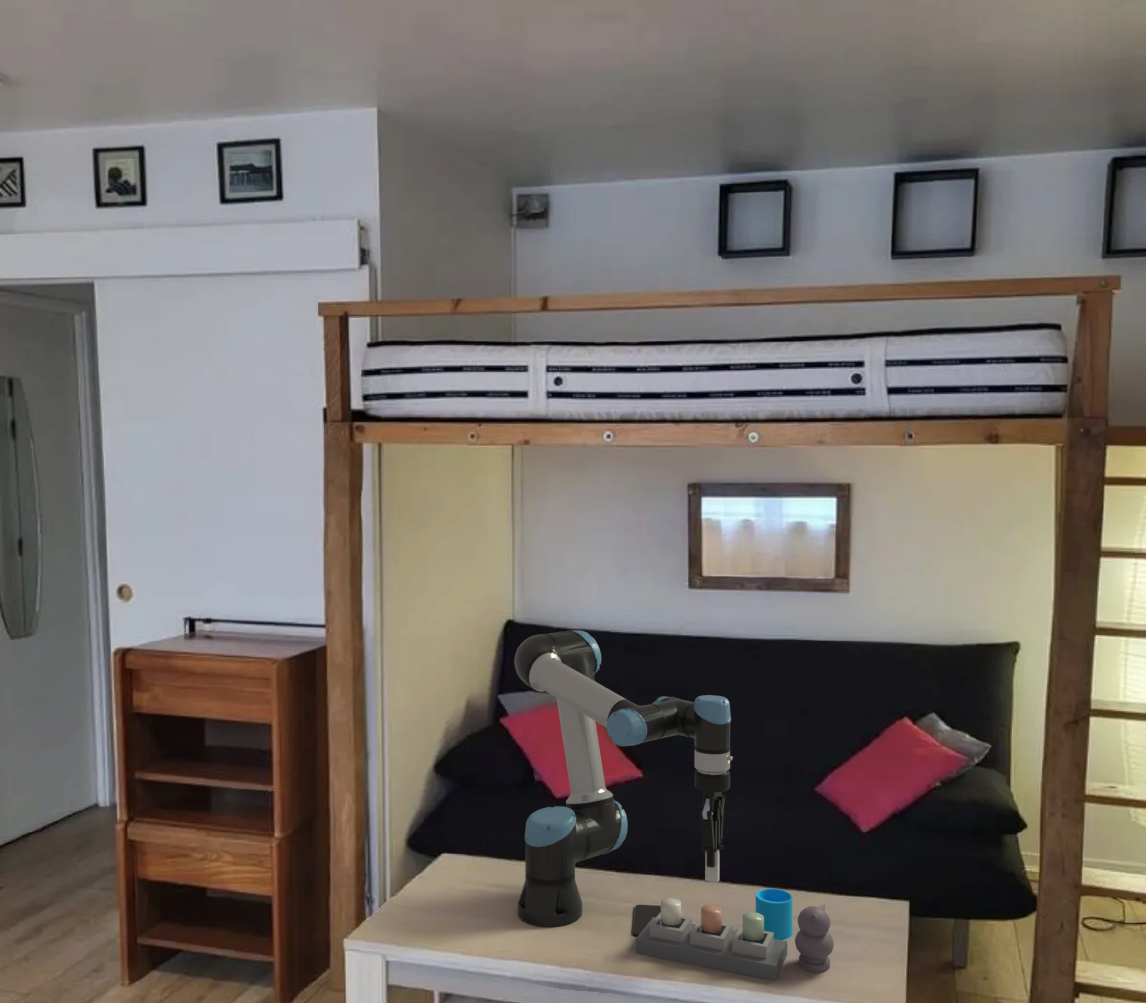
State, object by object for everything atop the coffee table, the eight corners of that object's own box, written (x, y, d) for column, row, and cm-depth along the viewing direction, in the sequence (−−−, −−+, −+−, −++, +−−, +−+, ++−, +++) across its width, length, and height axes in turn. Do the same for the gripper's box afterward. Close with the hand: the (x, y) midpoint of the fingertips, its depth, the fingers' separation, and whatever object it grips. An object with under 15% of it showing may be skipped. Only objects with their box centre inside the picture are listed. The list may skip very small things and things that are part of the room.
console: (635, 953, 214) (635, 928, 214) (653, 930, 225) (653, 906, 225) (775, 980, 203) (775, 954, 202) (787, 955, 214) (787, 930, 213)
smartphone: (667, 940, 221) (668, 909, 237) (667, 936, 221) (668, 905, 237) (631, 938, 222) (634, 907, 238) (631, 934, 222) (635, 903, 238)
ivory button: (658, 923, 216) (658, 904, 216) (664, 915, 220) (664, 897, 220) (677, 926, 214) (677, 908, 214) (683, 918, 218) (683, 900, 218)
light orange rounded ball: (698, 930, 213) (698, 911, 213) (704, 922, 217) (704, 903, 217) (718, 934, 211) (718, 915, 211) (724, 925, 215) (724, 907, 215)
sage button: (740, 938, 209) (740, 919, 209) (745, 929, 213) (745, 910, 213) (761, 942, 207) (761, 922, 207) (765, 933, 211) (765, 914, 211)
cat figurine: (801, 952, 215) (802, 896, 215) (838, 961, 211) (838, 904, 211) (789, 968, 208) (789, 911, 207) (826, 978, 204) (827, 919, 203)
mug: (789, 942, 219) (789, 905, 219) (752, 936, 222) (752, 900, 222) (797, 920, 231) (797, 885, 231) (761, 914, 234) (762, 880, 233)
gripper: (721, 780, 206) (721, 894, 206) (737, 764, 218) (736, 872, 218) (686, 776, 209) (686, 888, 209) (703, 760, 221) (703, 867, 221)
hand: (712, 880), depth 213 cm, fingers closed
